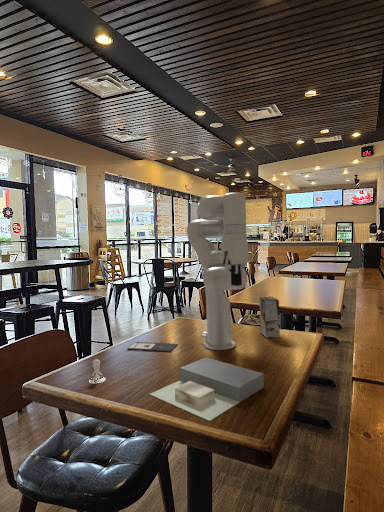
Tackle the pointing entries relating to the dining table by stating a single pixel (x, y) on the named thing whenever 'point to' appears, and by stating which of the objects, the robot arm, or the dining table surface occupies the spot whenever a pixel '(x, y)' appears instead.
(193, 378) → the slate deck
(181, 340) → the dining table surface
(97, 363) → the toy figurine
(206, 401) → the cream tile
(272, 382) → the dining table surface
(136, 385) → the dining table surface
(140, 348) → the chocolate bar
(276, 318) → the coffee box
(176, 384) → the sage mat
